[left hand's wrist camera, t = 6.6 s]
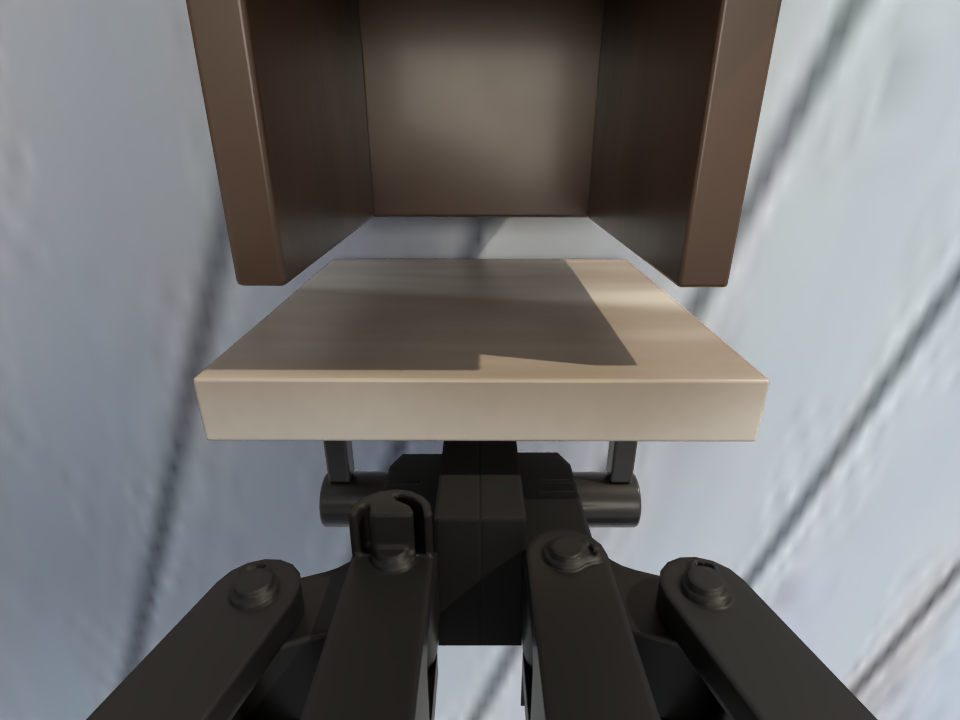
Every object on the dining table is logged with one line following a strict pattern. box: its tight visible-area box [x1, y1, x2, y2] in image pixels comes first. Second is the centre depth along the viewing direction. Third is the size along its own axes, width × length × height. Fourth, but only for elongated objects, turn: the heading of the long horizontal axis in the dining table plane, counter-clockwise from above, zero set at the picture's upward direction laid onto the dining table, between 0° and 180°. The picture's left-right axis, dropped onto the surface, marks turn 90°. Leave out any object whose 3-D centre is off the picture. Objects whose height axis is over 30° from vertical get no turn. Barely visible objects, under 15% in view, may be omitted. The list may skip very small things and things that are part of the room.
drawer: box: [186, 0, 782, 527], centre depth 11 cm, size 24×10×9 cm, turn 0°
